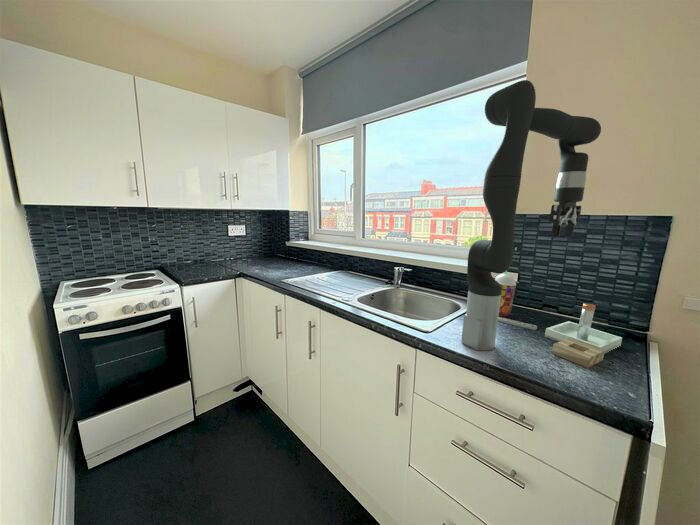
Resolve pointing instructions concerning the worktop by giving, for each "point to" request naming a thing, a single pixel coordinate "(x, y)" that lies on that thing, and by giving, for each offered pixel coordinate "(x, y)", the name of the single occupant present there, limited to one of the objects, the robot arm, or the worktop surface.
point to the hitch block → (578, 352)
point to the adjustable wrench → (517, 323)
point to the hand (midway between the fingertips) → (562, 236)
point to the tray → (594, 340)
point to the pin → (585, 321)
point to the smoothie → (506, 293)
